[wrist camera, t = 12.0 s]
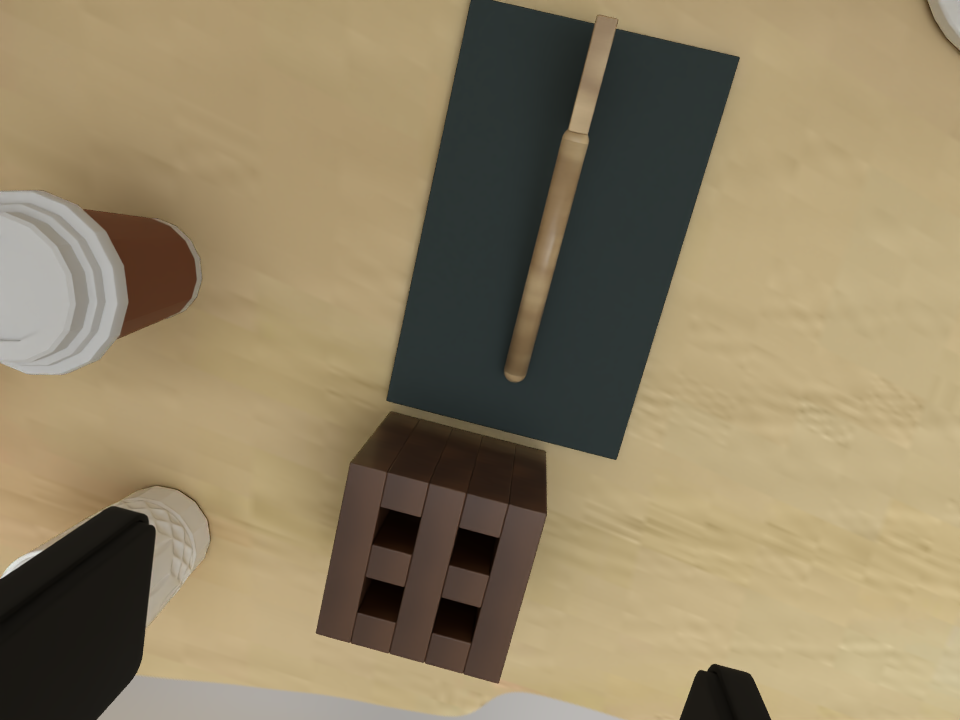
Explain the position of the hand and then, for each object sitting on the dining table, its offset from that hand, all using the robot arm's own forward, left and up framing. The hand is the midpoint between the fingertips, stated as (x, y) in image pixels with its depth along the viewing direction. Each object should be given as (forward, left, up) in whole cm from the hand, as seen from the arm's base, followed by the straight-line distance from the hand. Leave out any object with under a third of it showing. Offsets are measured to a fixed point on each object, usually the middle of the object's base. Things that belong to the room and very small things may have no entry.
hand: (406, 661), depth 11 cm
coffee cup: (+23, +1, -30) cm, 38 cm away
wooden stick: (-1, +2, -29) cm, 29 cm away
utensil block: (+1, +12, -30) cm, 32 cm away
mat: (-1, -6, -30) cm, 31 cm away
